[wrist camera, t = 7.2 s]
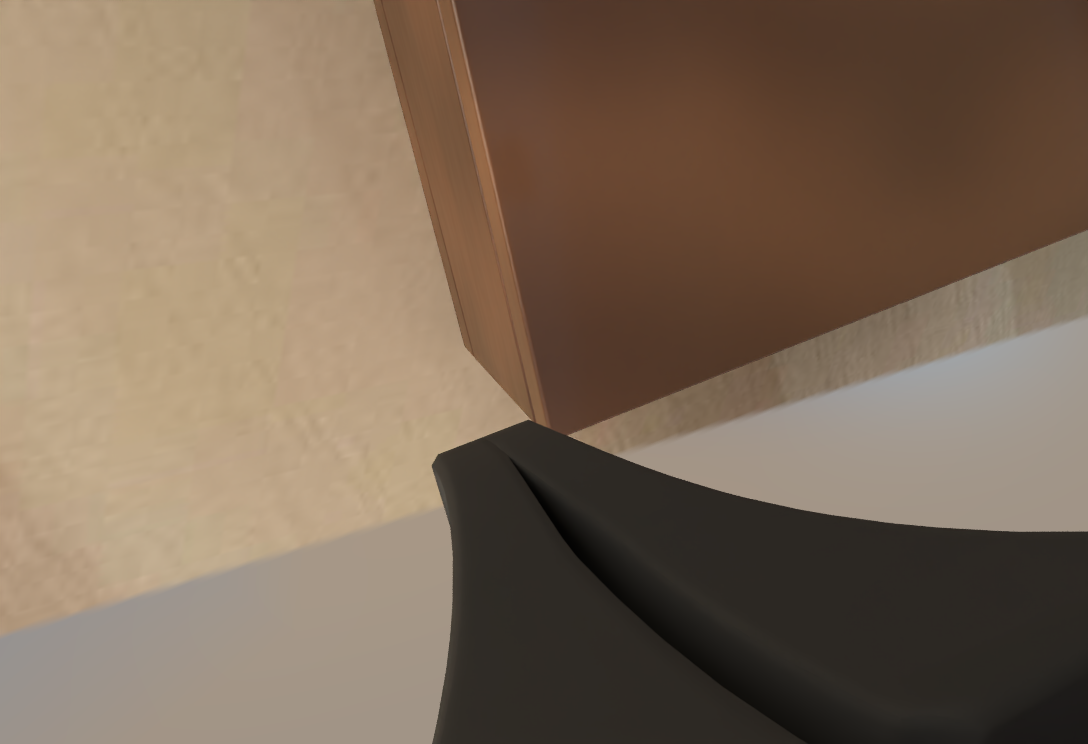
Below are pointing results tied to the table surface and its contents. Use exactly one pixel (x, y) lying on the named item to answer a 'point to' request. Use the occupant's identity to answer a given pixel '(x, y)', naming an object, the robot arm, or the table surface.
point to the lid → (755, 171)
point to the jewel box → (453, 187)
